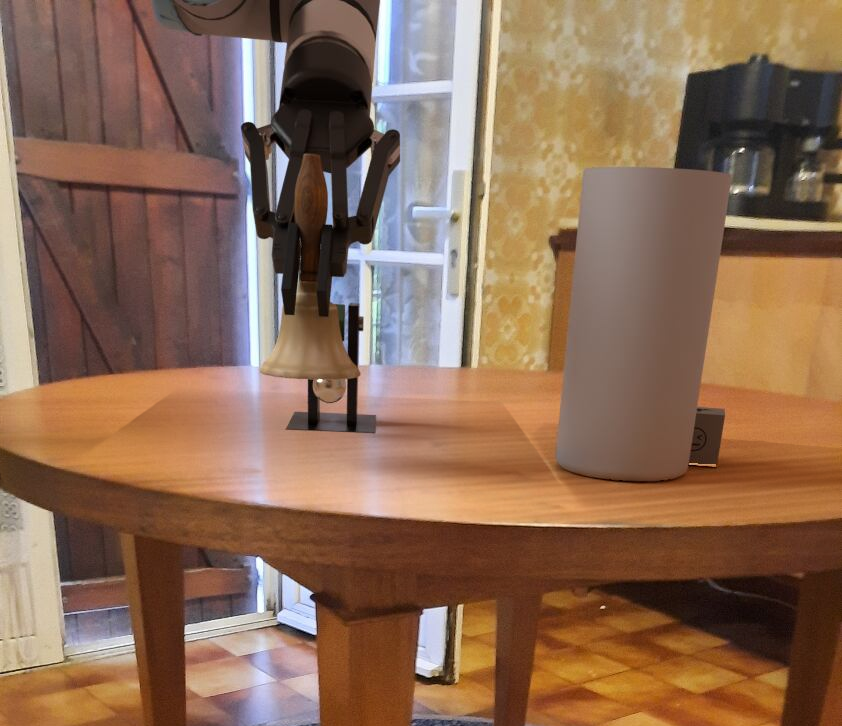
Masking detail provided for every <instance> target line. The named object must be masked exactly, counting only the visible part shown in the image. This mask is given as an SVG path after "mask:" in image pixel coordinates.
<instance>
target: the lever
mask: <svg viewBox="0 0 842 726" xmlns="http://www.w3.org/2000/svg"><path fill="white" fill-rule="evenodd" d="M334 304H335V305H336V306H337V309H338V319H339V326H340V332H341V337H342V341H343V343H344V342H345V338H346V337H345V335H346V304H345V303H344V304H340V303H334ZM313 390H314V393H315V395H316V396H317V397H318V399H320V402H323V403H326V404H334V403H337V402H339V401H340V400H341V399H342V398H343V397H344V396H345V393H346V392H347V380H346V379H334V380H313Z"/></svg>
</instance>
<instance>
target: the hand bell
mask: <svg viewBox="0 0 842 726" xmlns="http://www.w3.org/2000/svg"><path fill="white" fill-rule="evenodd" d="M328 211H329V192H328V185H327V181H326V177H325V172H323V169H322V165H321V159H320V155H317V154H304V155H303V161H302V165H301V169H300V172H299V175H298V179H297V182H296V188H295V217H296V223H297V224H298V231H299V235H300V243H301V258H300V267H299V281H298V284H299V285H298V292H297V295H296V304H295V314H294V315H285V313H284V306H283V305H282V308H281V318H280V325H279V331H278V336H277V339H276V342H275V345H274V347H273V350H272V351H271V353H270V355H269V356H268V358H267V359H266V360H264V362H263V363H262V364H261V365H260V368H259V373H260V374H261V375H264V376H268V377H269V376H270V377H274V378H281V379H282V378H283V379H292V380H293V379H295V380H308V379H310V380H334V379H345V380H347V379H350V378H356V377H358V378H359V377H361V375H362V374H361V371H360V369H359V366H358V367H357V366H356V365H355V364H354V363H353V362H352V361H351V359H350V357H349V356H348V351H347V349H346V347H345V345H344V342H343V341H342V337H341V332H340V326H339V319H338V309H337V306H336V305H335V304H336V303H333V302H331V301H330V307H329V317H320V316H319V312H318V302H317V293H316V289H317V279H318V269H319V259H320V249H321V238H322V228H323V224H327V221H328Z"/></svg>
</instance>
